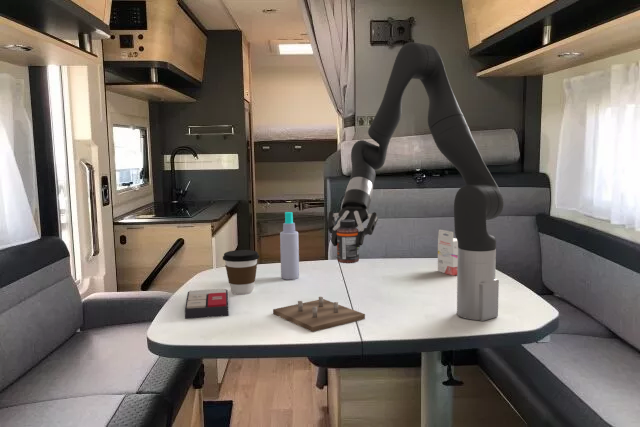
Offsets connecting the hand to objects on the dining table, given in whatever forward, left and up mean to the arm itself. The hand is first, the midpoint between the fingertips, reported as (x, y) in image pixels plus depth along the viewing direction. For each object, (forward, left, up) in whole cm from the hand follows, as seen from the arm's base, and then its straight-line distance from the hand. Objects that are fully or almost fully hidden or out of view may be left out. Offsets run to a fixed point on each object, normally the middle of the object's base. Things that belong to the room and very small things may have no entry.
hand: (346, 244), depth 145 cm
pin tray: (-2, +11, -17) cm, 20 cm away
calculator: (+22, +31, -18) cm, 41 cm away
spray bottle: (+38, -6, -17) cm, 42 cm away
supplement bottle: (+1, -2, -5) cm, 5 cm away
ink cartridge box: (+10, -53, -17) cm, 57 cm away
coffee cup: (+32, +15, -17) cm, 39 cm away
